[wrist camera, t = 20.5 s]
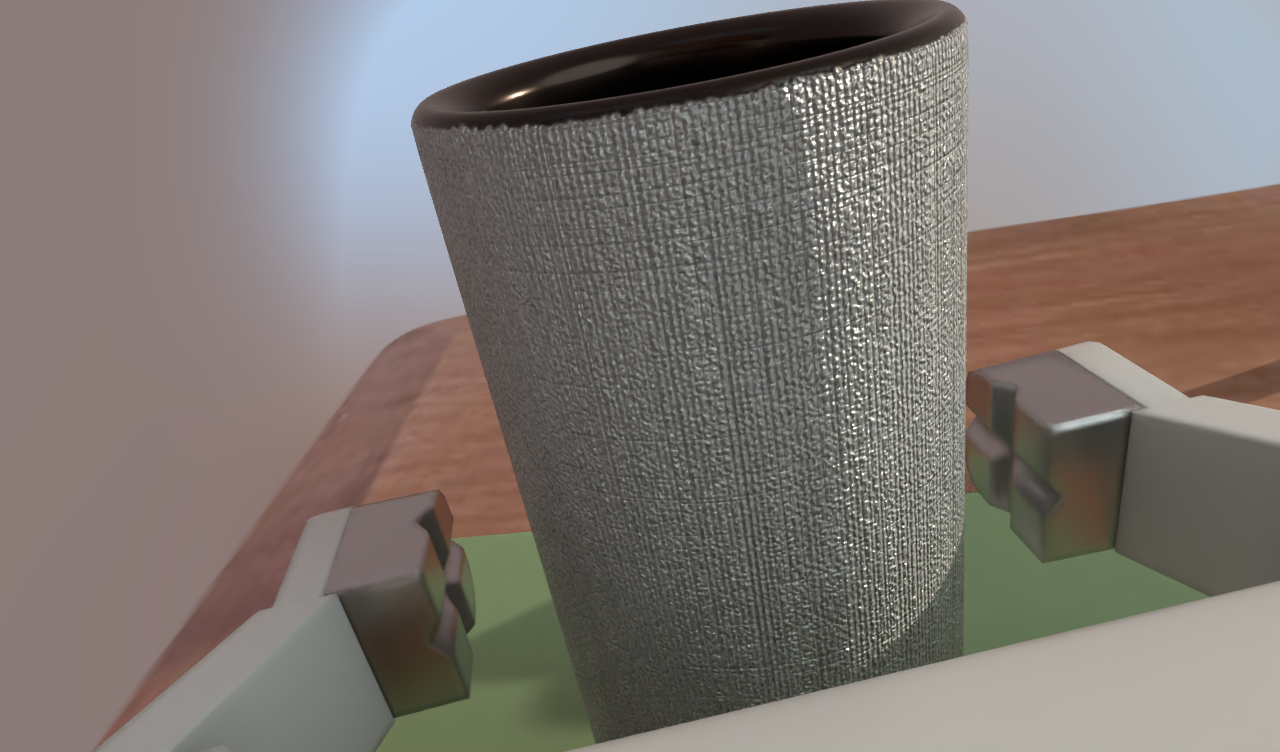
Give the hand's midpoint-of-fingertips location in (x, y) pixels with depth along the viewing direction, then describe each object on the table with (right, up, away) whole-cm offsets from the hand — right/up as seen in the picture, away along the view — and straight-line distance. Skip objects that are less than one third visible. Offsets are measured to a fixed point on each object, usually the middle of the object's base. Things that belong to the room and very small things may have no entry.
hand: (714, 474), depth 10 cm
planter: (+1, -5, +2) cm, 6 cm away
